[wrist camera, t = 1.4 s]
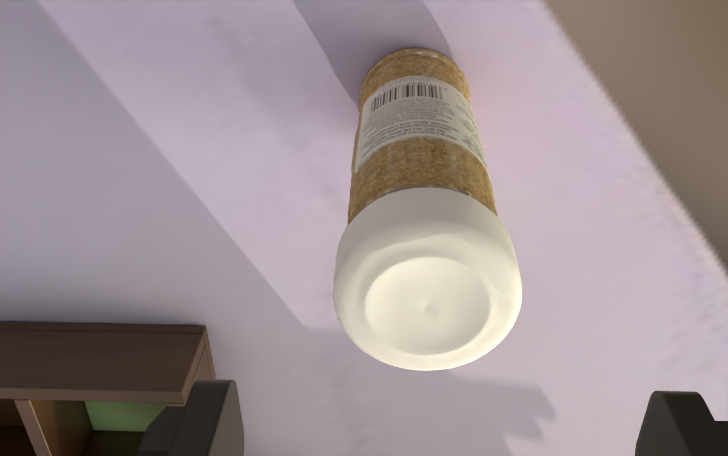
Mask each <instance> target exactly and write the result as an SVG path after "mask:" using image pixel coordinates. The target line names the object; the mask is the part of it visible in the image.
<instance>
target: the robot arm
mask: <svg viewBox="0 0 728 456" xmlns="http://www.w3.org/2000/svg"><path fill="white" fill-rule="evenodd" d="M243 454H244V430H243V424H242V417H241V411H240V405H239V398H238V392H237V386H236V382H235V381H234V380H210V379H196V380H195V381H194V383H193V385H192V387H191V390H190V393H189V395H188V398H187V401H186V404H185V406H166V407H165V408H164V410H163V411H162V412H161V413H160V414H159V415H158V416H157V417H156V418H155V419H154V420H153V421H152V422H151V424H150V425H149V426H148V427H147V429H146V432H145V434H144V436H143V439H142V441H141V444H140V446H139V449H138V454H137V456H243ZM635 456H728V421H715V420H714V418H713V416H712V414H711V413H710V411H709V409H708V407H707V405H706V403H705V401H704V399H703V398H702V396H701V395H700V394H699V393H697V392H681V391H654V392H653V393H652V395H651V397H650V400H649V403H648V406H647V410H646V413H645V416H644V420H643V423H642V426H641V430H640V433H639V436H638V440H637V443H636V449H635Z"/></svg>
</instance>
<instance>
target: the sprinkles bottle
mask: <svg viewBox="0 0 728 456" xmlns="http://www.w3.org/2000/svg"><path fill="white" fill-rule="evenodd" d="M358 108H359V112H360V115H359V125H358V129H357V131H356V135H355V141H354V148H353V157H352V165H351V173H352V178H351V190H350V202H349V210H348V226H347V228H346V229H345V231H344V233H343V235H342V237H341V240H340V243H339V247H338V250H337V256H336V265H335V274H334V292H333V299H334V307H335V311H336V314H337V317H338V320H339V322H340V324H341V326H342V328H343V330H344V332H345V333H346V334H347V336H348V337H349V338H350V339H351V340H352V341H353V342H354V343H355V344H356V345H357V346H358V347H359V348H360V349H361V350H363V351H364V352H365V353H367V354H369V355H370V356H372V357H374V358H376V359H377V360H379V361H382V362H384V363H387V364H390V365H393V366H395V367H399V368H404V369H411V370H420V371H430V370H443V369H448V368H453V367H457V366H460V365H463V364H466V363H469V362H471V361H474V360H476V359H477V358H479V357H481V356H483V355H484V354H486V353H488V352H489V351H490V350H491V349H493V348H494V347H495V346H497V345H498V344H499V343H500V342H501V341H502V340H503V339H504V337H505V336H506V335H507V334H508V333H509V331H510V330H511V328H512V327H513V325H514V323H515V321H516V318H517V316H518V314H519V311H520V307H521V302H522V284H521V278H520V273H519V268H518V264H517V260H516V256H515V252H514V249H513V245H512V241H511V239H510V236H509V234H508V232H507V230H506V228H505V226H504V225H503V224H502V222H501V221H500V219H499V218H498V215H497V212H496V209H495V205H494V198H493V188H492V183H491V179H490V175H489V172H488V168H487V164H486V160H485V156H484V152H483V148H482V144H481V140H480V136H479V132H478V128H477V124H476V120H475V116H474V113H473V111H472V109H471V107H470V92H469V87H468V84H467V81H466V78H465V76H464V74H463V73H462V71H461V70H460V69H459V68H458V67H457V65H456V64H455V63H454V62H453V61H451V60H450V59H449V58H447V57H446V56H444V55H442V54H440V53H438V52H436V51H433V50H430V49H420V48H411V49H402V50H399V51H396V52H394V53H392V54H389V55H387V56H385V57H384V58H382V59H381V60H380V61H379V62H377V63H376V64H375V65H374V66H373V68H372V69H371V70H369V72H368V73H367V75H366V77H365V79H364V81H363V83H362V85H361V88H360V92H359V106H358Z"/></svg>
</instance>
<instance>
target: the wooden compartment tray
mask: <svg viewBox="0 0 728 456" xmlns="http://www.w3.org/2000/svg"><path fill="white" fill-rule="evenodd" d="M196 379H210V380H215V375H214V369H213V363H212V358H211V352H210V346H209V341H208V335H207V330H206V326H183V325H137V324H91V323H45V322H0V456H137V454H138V449H139V446H140V444H141V441H142V439H143V436H144V434H145V432H146V429H147V427H148V426H149V425H150V424H151V422H152V421H153V420H154V419H155V418H156V417H157V416H158V415H159V414H160V413H161V412H162V411H163V410H164V408H165V407H166V406H185V404H186V401H187V398H188V395H189V393H190V390H191V387H192V385H193V383H194V381H195V380H196Z"/></svg>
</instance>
